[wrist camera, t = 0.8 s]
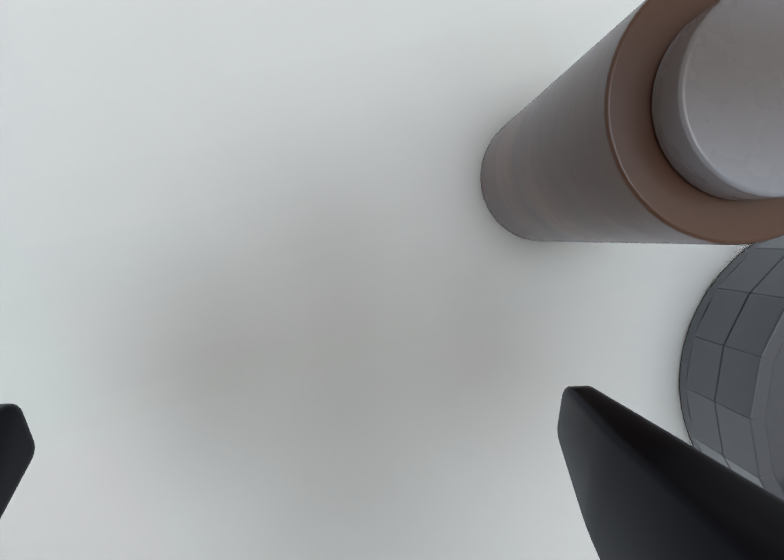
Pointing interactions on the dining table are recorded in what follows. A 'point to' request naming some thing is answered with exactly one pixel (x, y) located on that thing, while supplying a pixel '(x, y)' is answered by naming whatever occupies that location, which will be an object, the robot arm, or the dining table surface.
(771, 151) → the pepper mill
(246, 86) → the dining table surface
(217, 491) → the dining table surface
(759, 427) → the pan
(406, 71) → the dining table surface
